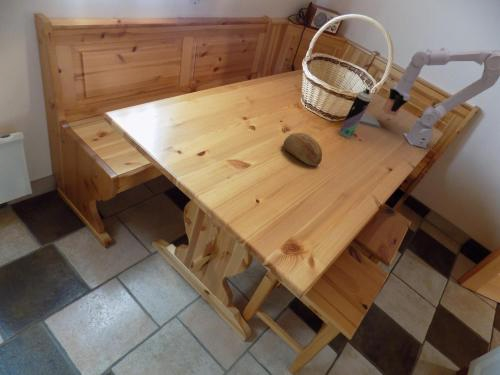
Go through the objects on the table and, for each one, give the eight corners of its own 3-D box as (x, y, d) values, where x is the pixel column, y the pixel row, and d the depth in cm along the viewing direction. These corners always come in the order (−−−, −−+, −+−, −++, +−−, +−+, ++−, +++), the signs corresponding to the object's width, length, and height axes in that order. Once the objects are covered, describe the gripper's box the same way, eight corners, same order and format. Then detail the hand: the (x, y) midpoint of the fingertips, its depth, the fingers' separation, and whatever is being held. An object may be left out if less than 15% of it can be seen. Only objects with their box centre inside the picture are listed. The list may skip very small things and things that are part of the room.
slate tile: (379, 128, 146) (380, 125, 146) (359, 123, 145) (360, 120, 144) (373, 117, 154) (374, 115, 153) (354, 112, 153) (355, 110, 152)
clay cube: (395, 115, 144) (401, 105, 141) (385, 113, 143) (391, 103, 140) (392, 110, 148) (397, 100, 145) (382, 108, 147) (387, 98, 144)
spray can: (337, 133, 131) (359, 88, 119) (340, 128, 136) (362, 84, 123) (349, 139, 130) (373, 94, 118) (352, 134, 134) (376, 90, 122)
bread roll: (309, 173, 104) (318, 153, 99) (274, 149, 110) (282, 129, 105) (323, 164, 111) (333, 145, 106) (290, 142, 117) (297, 123, 112)
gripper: (393, 71, 141) (378, 99, 149) (405, 84, 130) (388, 113, 138) (408, 75, 142) (392, 102, 150) (420, 88, 131) (402, 117, 139)
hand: (391, 108), depth 144 cm, fingers closed on clay cube, 5 cm apart
